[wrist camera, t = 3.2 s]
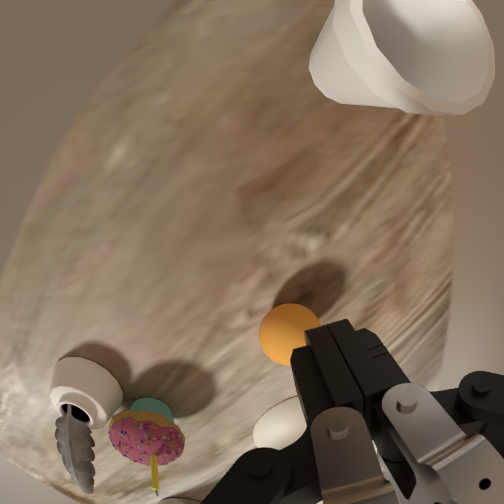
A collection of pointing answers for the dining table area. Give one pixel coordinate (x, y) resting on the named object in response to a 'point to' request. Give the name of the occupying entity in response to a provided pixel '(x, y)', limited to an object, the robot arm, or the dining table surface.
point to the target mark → (280, 425)
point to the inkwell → (81, 412)
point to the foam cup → (405, 55)
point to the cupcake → (147, 435)
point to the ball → (285, 330)
